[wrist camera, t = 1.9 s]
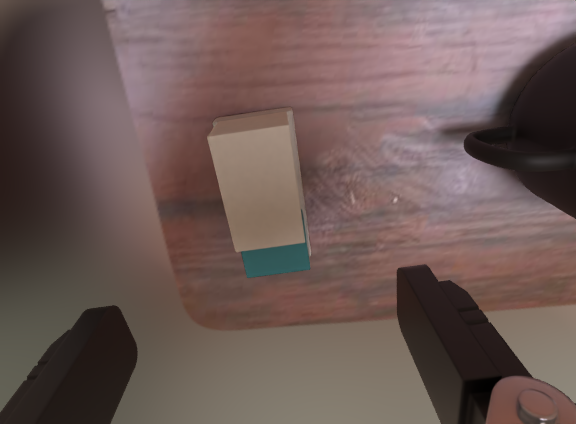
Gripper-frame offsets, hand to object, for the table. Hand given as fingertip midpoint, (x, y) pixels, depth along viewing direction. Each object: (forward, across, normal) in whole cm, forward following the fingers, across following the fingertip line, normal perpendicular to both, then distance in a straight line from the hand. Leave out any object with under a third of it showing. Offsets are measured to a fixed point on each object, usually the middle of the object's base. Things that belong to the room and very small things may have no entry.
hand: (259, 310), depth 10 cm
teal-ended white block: (+12, 0, 0) cm, 12 cm away
